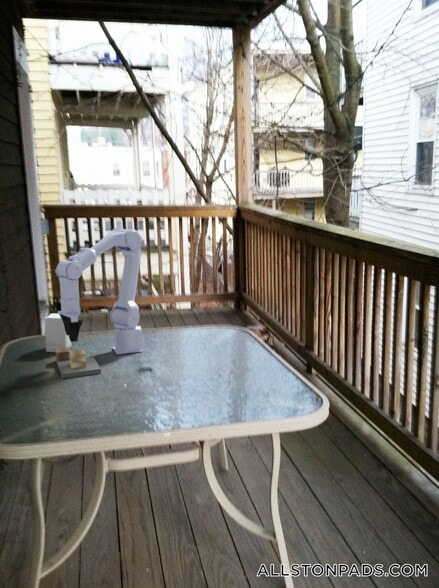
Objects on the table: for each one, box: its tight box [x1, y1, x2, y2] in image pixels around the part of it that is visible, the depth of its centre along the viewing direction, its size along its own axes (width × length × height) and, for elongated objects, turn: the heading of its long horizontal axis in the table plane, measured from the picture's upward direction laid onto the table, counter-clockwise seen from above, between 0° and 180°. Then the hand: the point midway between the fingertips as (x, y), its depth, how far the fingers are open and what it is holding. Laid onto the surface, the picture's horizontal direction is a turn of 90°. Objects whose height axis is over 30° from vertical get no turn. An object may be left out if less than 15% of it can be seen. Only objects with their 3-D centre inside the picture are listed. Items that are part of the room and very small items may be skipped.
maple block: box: [69, 348, 87, 368], centre depth 172 cm, size 4×4×4 cm
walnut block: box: [55, 347, 72, 363], centre depth 179 cm, size 4×4×4 cm
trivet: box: [56, 357, 102, 379], centre depth 172 cm, size 12×12×2 cm
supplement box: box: [44, 313, 73, 353], centre depth 191 cm, size 7×7×13 cm
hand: (71, 338), depth 173 cm, fingers open, 7 cm apart
